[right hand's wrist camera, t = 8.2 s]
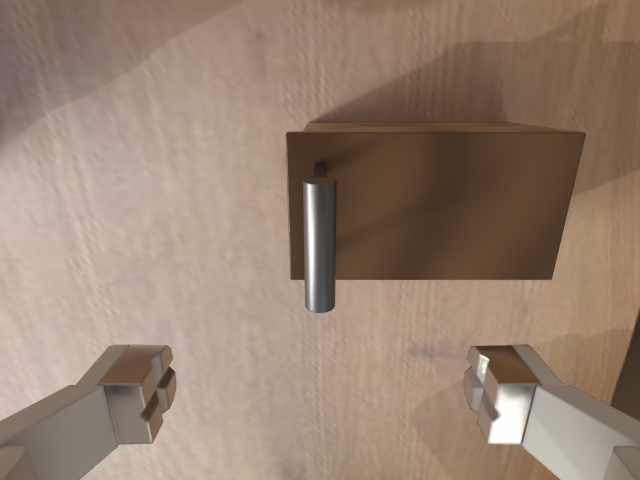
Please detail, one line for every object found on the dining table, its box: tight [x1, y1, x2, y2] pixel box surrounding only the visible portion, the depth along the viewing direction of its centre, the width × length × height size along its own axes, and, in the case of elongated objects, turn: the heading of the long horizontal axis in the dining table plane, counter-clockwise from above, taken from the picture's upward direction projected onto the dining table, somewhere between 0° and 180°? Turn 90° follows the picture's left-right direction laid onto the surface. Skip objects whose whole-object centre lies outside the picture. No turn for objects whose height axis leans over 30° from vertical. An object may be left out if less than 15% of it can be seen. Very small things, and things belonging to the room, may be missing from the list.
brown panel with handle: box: [286, 132, 586, 313], centre depth 21 cm, size 18×10×8 cm, turn 90°
